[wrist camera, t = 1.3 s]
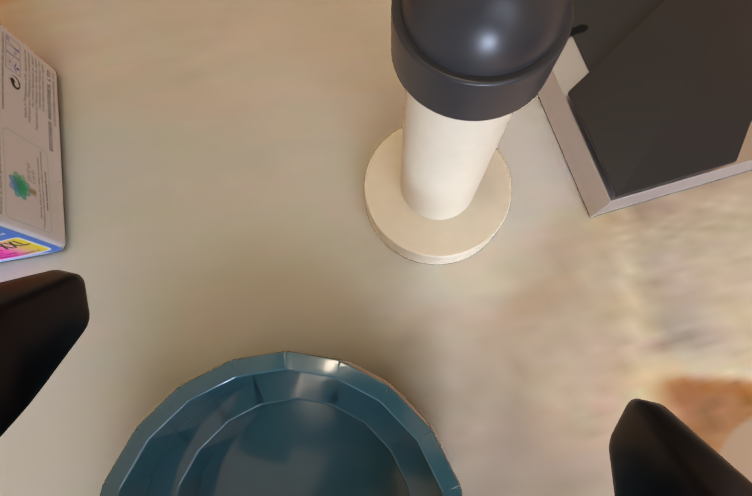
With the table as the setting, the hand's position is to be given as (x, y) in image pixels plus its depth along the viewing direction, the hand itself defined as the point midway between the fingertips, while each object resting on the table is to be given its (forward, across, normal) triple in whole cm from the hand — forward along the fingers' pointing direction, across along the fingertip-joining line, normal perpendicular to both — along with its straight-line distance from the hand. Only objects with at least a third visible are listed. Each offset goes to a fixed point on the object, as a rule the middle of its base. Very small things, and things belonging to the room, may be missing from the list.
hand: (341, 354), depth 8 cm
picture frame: (+23, -14, -7) cm, 28 cm away
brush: (+15, -1, +3) cm, 15 cm away
